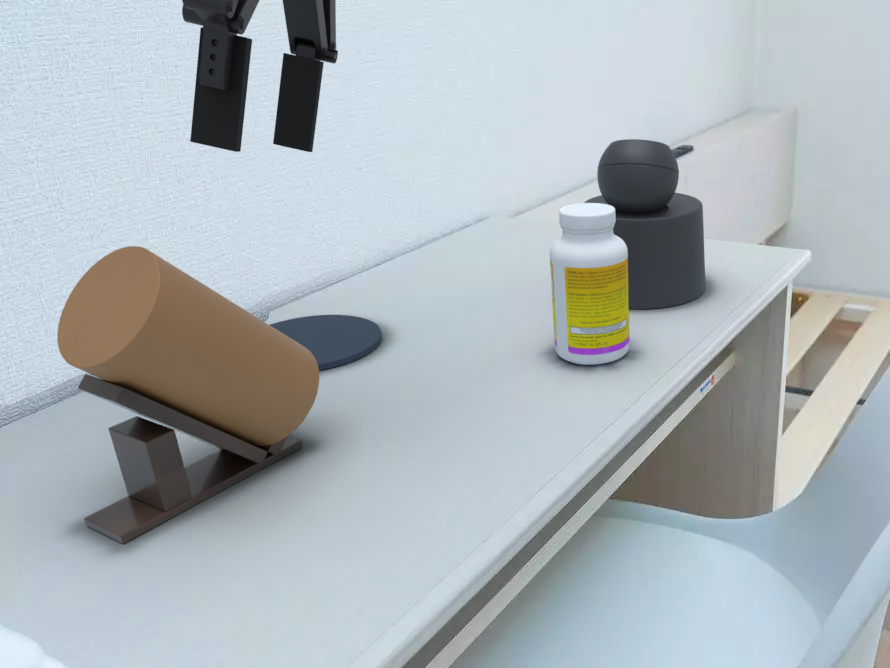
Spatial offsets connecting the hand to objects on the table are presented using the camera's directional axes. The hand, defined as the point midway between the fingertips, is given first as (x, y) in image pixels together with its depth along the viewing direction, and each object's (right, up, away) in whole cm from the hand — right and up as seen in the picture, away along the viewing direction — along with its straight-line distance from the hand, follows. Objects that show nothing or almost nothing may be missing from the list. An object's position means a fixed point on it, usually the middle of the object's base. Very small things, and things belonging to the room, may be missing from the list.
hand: (258, 148), depth 60 cm
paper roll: (-3, -14, -2) cm, 14 cm away
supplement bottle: (+22, -13, +19) cm, 32 cm away
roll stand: (-4, -23, 0) cm, 23 cm away
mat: (-4, -12, +23) cm, 26 cm away
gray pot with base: (+28, -5, +35) cm, 45 cm away
